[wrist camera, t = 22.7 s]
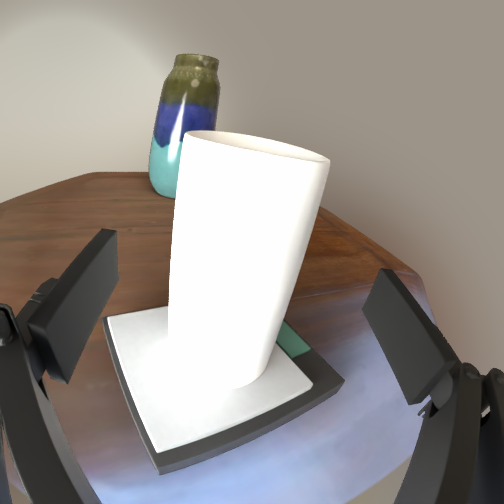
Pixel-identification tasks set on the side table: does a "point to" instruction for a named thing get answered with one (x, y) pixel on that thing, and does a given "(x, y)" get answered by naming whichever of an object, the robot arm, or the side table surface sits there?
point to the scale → (208, 391)
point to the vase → (182, 116)
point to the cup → (237, 251)
